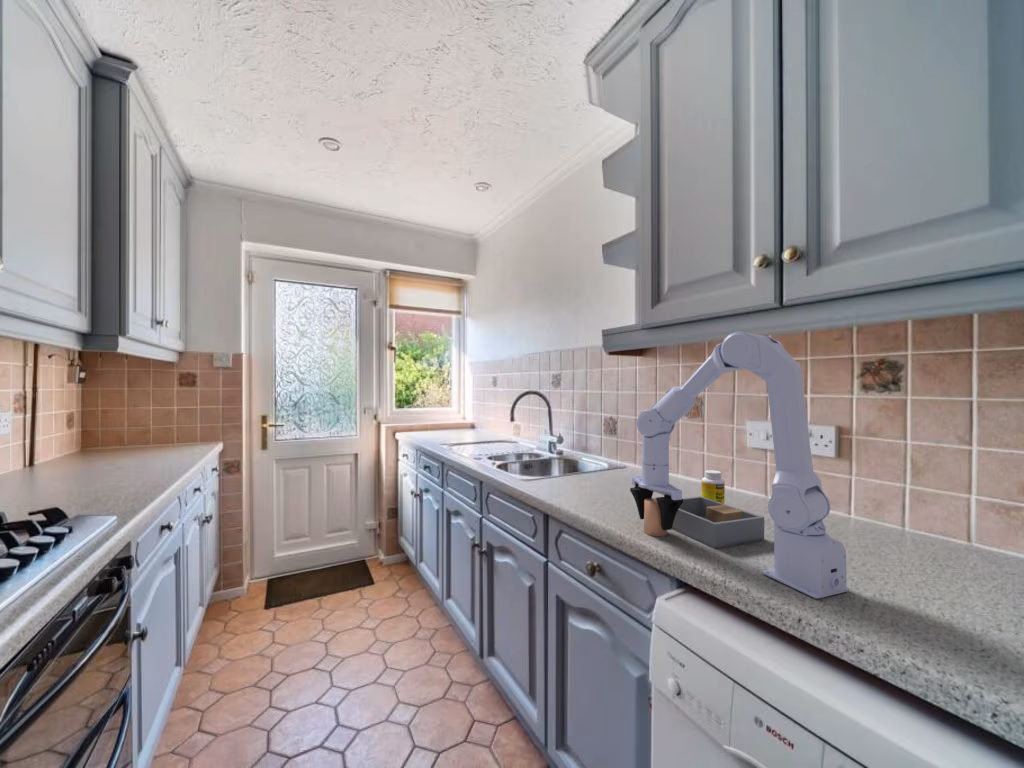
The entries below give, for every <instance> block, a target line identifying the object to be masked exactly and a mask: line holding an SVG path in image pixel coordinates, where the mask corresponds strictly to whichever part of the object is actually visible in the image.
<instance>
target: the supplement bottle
mask: <svg viewBox="0 0 1024 768" xmlns="http://www.w3.org/2000/svg"><path fill="white" fill-rule="evenodd" d="M722 477H723V476H722V472H721V471H719V470H714V469H711V470H710V469H707V470H705V471H704V476H703V477H702V478H701V497H704V498H707V499H710V500H713V501H716V502H719V503H722V504H725V492H726V491H725V489H726V487H725V485H726V484H725V480H724V479H723V478H722Z"/></svg>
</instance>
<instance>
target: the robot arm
mask: <svg viewBox="0 0 1024 768" xmlns="http://www.w3.org/2000/svg"><path fill="white" fill-rule="evenodd" d="M740 370H747V371H750V373H752V374H754V375H755V376H757V377H759V378H760V379H762V380H763V381H765V382H766V388H767V395H768V404H769V405H768V406H769V407H768V408H769V414H770V415H769V416H770V423H771V433H772V444H773V450H774V451H773V453H774V460H775V470H776V472H775V475H774V477H773V479H772V482H771V490H772V493H771V497H770V499H769V501H768V506H767V509H768V511H767V512H768V514H769V517H770V518H771V519H772V521H773V523H774V525H773V526H774V529H773V530H774V531H773V532H774V534H773V535H774V540H773V541H774V546H773V547H774V548H773V549H774V550H773V551H774V553H773V555H774V558H773V561H774V565H773V566H774V567H772V568H771V567H770V568H767V569H763V570H761V573H762V574H763V575H765V576H767V577H769V578H771V579H774V580H775V581H778V582H780V583H782V584H784V585H786V586H788V587H790V588H792V589H795V590H796V591H799V592H801V593H803V594H806V595H807V596H810V597H811V598H813V599H823V598H826V597H829V596H830V597H831V596H834V595H837V594H842V593H846V592H850V587H849V586H847V552H846V547H845V546H844V544H843V543H842V542H841V541H839V540H838V539H835V538H833V537H831V536H830V535H829V534H828V533H827V528H826V525H825V523H824V522H823V521H824V519H826V518H827V516H829V514H830V511H831V503H830V500H829V497H828V496H827V495H826V493H825V492H824V490H823V487H822V480H821V478H820V477H819V476H818V475H817V474H816V472H815V471H814V468H813V459H812V458H813V457H812V452H811V451H812V449H811V441H810V431H809V424H808V416H807V409H806V408H807V407H806V400H805V399H806V397H805V388H804V381H803V374H802V373H803V372H802V369H801V366H800V364H799V363H798V362H797V361H796V360H795V359H794V357H793V356H792V355H791V354H790V353H789V352H788V351H787V350H786V349H785V348H784V346H783V344H782V342H781V341H779V340H777V339H774V338H773V337H771V336H768V335H765V334H754V333H749V332H746V331H734V332H732V333H729V334H728V335H727V336H726V337H725V338H724V339H723V341H722V342H720V343H718V344H716V346H715V347H714V349H713V350H712V353H711V354H710V355H709V356H708V358H707V359H706V360H705V361H704V362H703V363H702V364H701V365H700V367H698V368H697V370H695V371H694V372H693V374H692V375H691V376H690V377H689V378H688V379H687V380H686V382H685V383H684V384H683V385H682V386H673V387H670V388H667V389H666V390H665V395H664V396H663V397H661V399H660V400H659V401H658V402H657V403H653V405H651V407H652V408H651V409H645V410H642V411H640V413H639V416H638V417H637V419H636V427H637V430H638V431H639V433H640V434H641V435H642V437H641V441H642V442H641V443H642V444H641V447H642V448H641V450H642V451H641V466H642V467H641V474H642V475H641V476H640V475H635V476H632V477H631V482H632V483H631V484H632V486H634V487H630V488H629V490H630V493H631V494H632V497H633V499H634V501H635V504H636V508H637V513H638V516H639V520H644V500H645V499H648V498H653V494H654V493H657V494H660V495H661V496H658V497H655V498H656V500H657V503H658V506H659V509H660V515H661V527H662V530H667V531H670V530H673V529H672V526H673V522H674V519H675V516H676V513H677V511H678V509H679V507H680V506H681V504H682V503H683V499H682V498H683V490H682V489H679V488H677V487H675V486H674V485H672V484H671V483H670V440H671V434H672V433H673V431H674V430H675V426H676V423H678V421H680V420H681V419H682V418H683V417H684V416H685V415H686V414H687V413H688V412H690V411H691V410H692V409H693V408H695V405H696V397H697V396H698V395H700V394H701V393H703V391H705V389H707V388H708V387H709V386H710V385H711V384H713V383H714V382H715V381H717V380H718V379H719V378H720V377H722V375H724V374H725V373H729V372H735V371H740Z"/></svg>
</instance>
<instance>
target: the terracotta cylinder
mask: <svg viewBox="0 0 1024 768" xmlns="http://www.w3.org/2000/svg"><path fill="white" fill-rule="evenodd" d="M656 498H657V497H652V498H648V499H645V500H644V519H643V532H644V533H645V535H649V536H652V537H659V536H661V537H665V535H666V536H668V530H662V527H661V515H660V509H659V506H658V503H657V500H656Z"/></svg>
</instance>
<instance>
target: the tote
mask: <svg viewBox="0 0 1024 768" xmlns="http://www.w3.org/2000/svg"><path fill="white" fill-rule="evenodd" d="M682 499H683V503H682V504H681V506H680V507H679V509H678V511H677V513H676V516H675V519H674V522H673V526H672V529H671V530H674V531H676V532H678V533H680V534H682V535H684V536H687V537H688V538H691V539H693V540H694V541H696V542H699V543H701V544H703V545H706V546H707V547H710V548H712V549H714V550H716V549H717V550H718V549H723V548H729V547H735V546H739V545H746V544H753V543H759V542H765V517H764V516H761V515H758V514H755V513H752V512H749V511H746V510H744V509H741V508H736V507H734V506H731V505H729V504H726V503H724V504H722V503H719V502H716V501H713V500H710V499H707V498H704V497H702V495H701V496H692V497H684V498H683V497H682ZM720 505H724V506H727V507H730V508H733V509H736V510H739V511H742V519H738V520H731V521H723V522H716V523H714V522H712V521H709V520H707V519H706V507H712V506H720Z"/></svg>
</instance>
